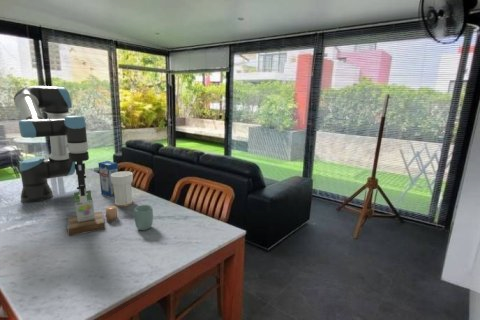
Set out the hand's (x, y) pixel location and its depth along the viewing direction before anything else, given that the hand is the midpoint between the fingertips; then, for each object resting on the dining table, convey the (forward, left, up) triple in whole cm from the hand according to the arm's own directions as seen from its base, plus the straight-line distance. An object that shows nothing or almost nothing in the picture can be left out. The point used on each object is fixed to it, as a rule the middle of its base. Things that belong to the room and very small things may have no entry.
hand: (83, 196), depth 123 cm
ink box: (0, 0, -11) cm, 11 cm away
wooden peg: (-2, +11, -14) cm, 18 cm away
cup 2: (+15, +23, -14) cm, 31 cm away
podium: (0, 0, -14) cm, 14 cm away
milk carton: (-40, +14, -14) cm, 44 cm away
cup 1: (-21, +19, -14) cm, 32 cm away
